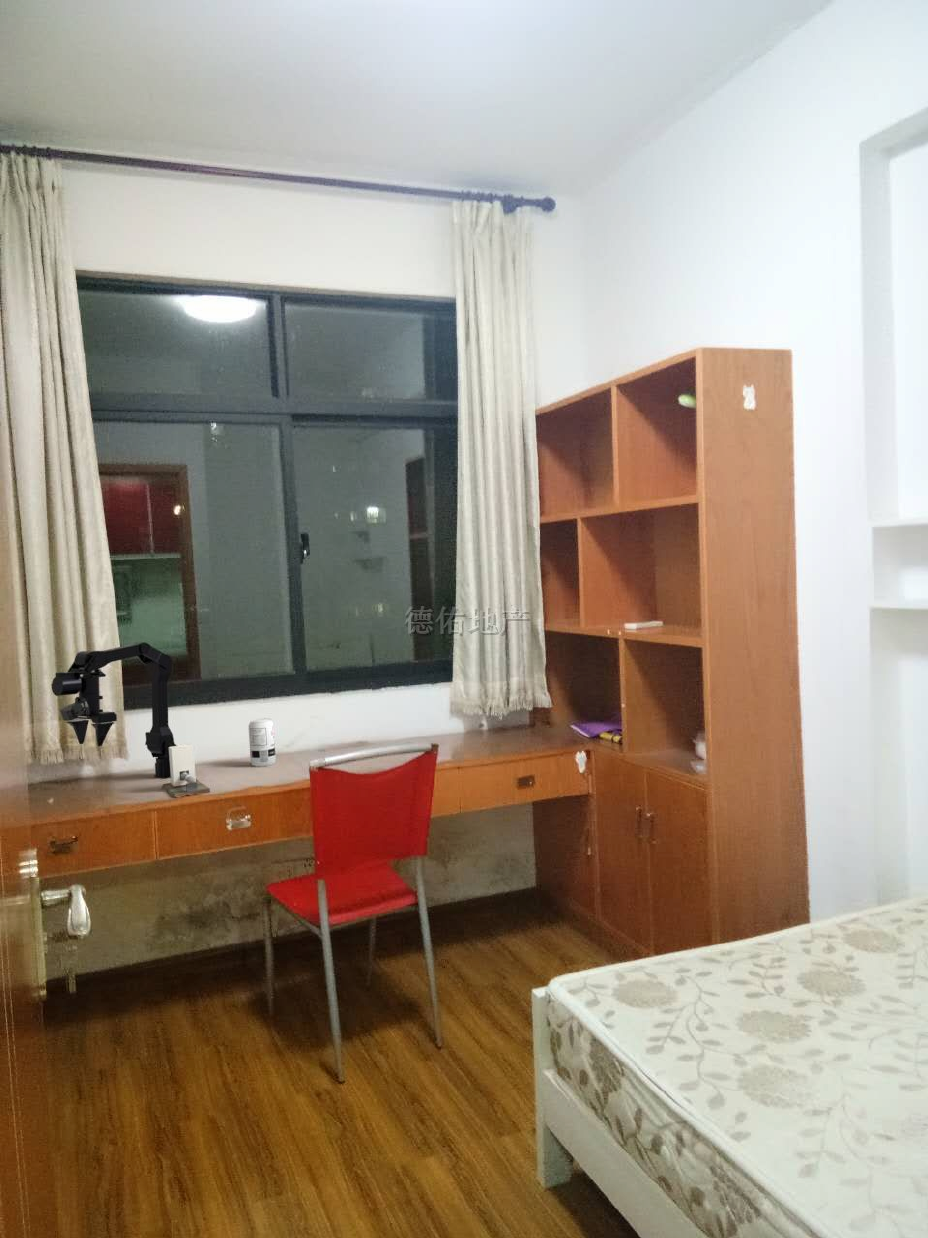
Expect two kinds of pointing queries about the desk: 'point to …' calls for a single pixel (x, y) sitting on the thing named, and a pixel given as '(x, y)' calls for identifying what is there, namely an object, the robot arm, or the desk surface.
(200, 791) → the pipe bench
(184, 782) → the white upright block
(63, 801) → the desk surface
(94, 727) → the robot arm
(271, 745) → the supplement can
